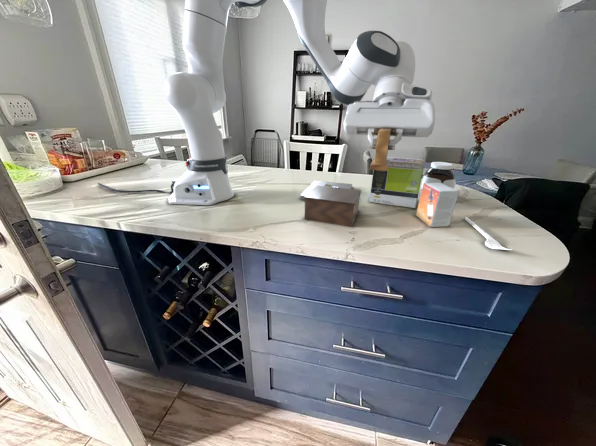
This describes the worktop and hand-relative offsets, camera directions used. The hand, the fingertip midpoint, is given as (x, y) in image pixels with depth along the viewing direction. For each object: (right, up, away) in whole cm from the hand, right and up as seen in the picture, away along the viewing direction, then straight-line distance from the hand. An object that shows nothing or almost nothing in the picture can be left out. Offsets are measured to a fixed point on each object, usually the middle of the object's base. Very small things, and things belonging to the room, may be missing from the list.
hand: (382, 148), depth 56 cm
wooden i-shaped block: (0, -4, +2) cm, 5 cm away
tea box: (+14, -10, +30) cm, 35 cm away
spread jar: (+34, -6, +38) cm, 52 cm away
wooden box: (-9, -15, +19) cm, 26 cm away
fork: (+29, -21, +7) cm, 36 cm away
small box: (+20, -17, +15) cm, 30 cm away
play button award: (-8, -6, +38) cm, 39 cm away
